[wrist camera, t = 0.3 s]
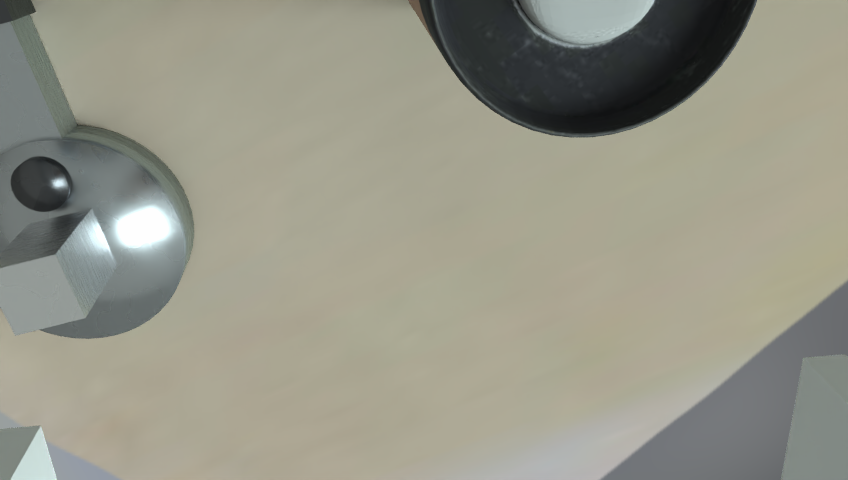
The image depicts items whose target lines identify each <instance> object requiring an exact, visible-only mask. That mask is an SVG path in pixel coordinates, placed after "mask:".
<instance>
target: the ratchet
mask: <svg viewBox="0 0 848 480" xmlns="http://www.w3.org/2000/svg"><path fill="white" fill-rule="evenodd" d="M34 12H36V11H35V9H34V6H33V4H32V2H31V0H0V308H1V309H2V311H3V313H4V315H5V317H6V319H7V321H8V323H9V324H10V326H11V328H12V330H13V332H14V334H15V336H16V335H20V334H24V333H28V332H32V331H36V330H41V331H44V332H47V333H50V334H54V335H58V336H64V337H71V338H86V339H90V338H103V337H108V336H113V335H117V334H121V333H124V332H127V331H129V330H132V329H134V328H136V327H138V326H140V325H142V324H143V323H145V322H147V321H148V320H150V319H151V318H152V317H154V316H155V315H156V314H157V313H158V312H160V311H161V309H162V308H163V307H164V306H165V305H166V304H167V303H168V301H169V300H170V298H171V297H172V295H173V294H174V292H175V290H176V288H177V286H178V284H179V282H180V279H181V277H182V275H183V272H184V270H185V268H186V265H187V263H188V261H189V258H190V254H191V251H192V247H193V240H194V222H193V216H192V211H191V208H190V204H189V201H188V198H187V196H186V194H185V192H184V190H183V188H182V186H181V185H180V183H179V181H178V180H177V178H176V177H175V175H174V174H173V173H172V172H171V170H170V169H169V168H168V167H167V166H166V165H165V164H164V163H163V162H162V161H161V160H160V159H159V158H158V157H157V156H156V155H155V154H153V153H152V152H151V151H149V150H148V149H147V148H145V147H144V146H142V145H141V144H139V143H137V142H135V141H134V140H132V139H130V138H128V137H125V136H123V135H121V134H119V133H115V132H112V131H109V130H106V129H102V128H97V127H91V126H80V125H77V123H76V121H75V118H74V116H73V114H72V111H71V109H70V107H69V104H68V102H67V100H66V98H65V95H64V93H63V91H62V88H61V86H60V84H59V81H58V79H57V77H56V74H55V72H54V70H53V67H52V65H51V63H50V60H49V58H48V56H47V53H46V51H45V49H44V46H43V44H42V42H41V39H40V37H39V35H38V33H37V30H36V28H35V26H34V23H33V21H32V19H31V16H30V14H32V13H34Z"/></svg>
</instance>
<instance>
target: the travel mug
mask: <svg viewBox="0 0 848 480" xmlns="http://www.w3.org/2000/svg"><path fill="white" fill-rule="evenodd" d="M408 1H409V3H410V4H411V6H412V7H413V9H414V11H415V12H416V14H417V15H418V17H419V19H420V20H421V22H422V23H423V25H424V27H425V28H426V30H427V31H428V33H429V35H430V36H431V38H432V39H433V41H434V42H435V44H436V46H437V47H438V49H439V50H440V52H441V54H442V55H443V57H444V58H445V60H446V62H447V63H448V65H449V66H450V68H451V69H452V70H453V72H454V73H455V74H456V76H457V77H458V78H459V80H460V81H461V82H462V83H463V84H464V86H465V87H466V88H467V89H468V90H469V91H470V92H471V93H472V94H473V95H474V96H475V97H476V98H477V99H478V100H480V101H481V102H482V103H484V104H485V105H486V106H487V107H489V108H490V109H491V110H493V111H494V112H495V113H497V114H499V115H501V116H502V117H504V118H506V119H508V120H509V121H511V122H513V123H516V124H518V125H521V126H523V127H526V128H528V129H530V130H533V131H537V132H541V133H545V134H549V135H555V136H563V137H597V136H604V135H611V134H615V133H619V132H623V131H626V130H630V129H633V128H636V127H638V126H641V125H643V124H646V123H648V122H651V121H653V120H655V119H657V118H658V117H660V116H662V115H664V114H666V113H667V112H669V111H671V110H673V109H674V108H676V107H677V106H678V105H680V104H681V103H683V102H684V101H685V100H687V99H688V98H690V97H691V96H692V95H693V94H694V93H695V92H696V91H698V90H699V89H700V88H701V87H702V86H703V85H704V84H705V83H707V81H708V80H709V79H710V78H711V77H712V76H713V75H714V74H715V72H716V71H717V70H718V69H719V68H720V67H721V66H722V64H723V63H724V62H725V60H726V59H727V57H728V56H729V55H730V53H731V52H732V50H733V49H734V48H735V46H736V44H737V42H738V41H739V39H740V37H741V35H742V33H743V32H744V30H745V28H746V26H747V24H748V22H749V19H750V17H751V14H752V12H753V10H754V7H755V5H756V2H757V0H408Z"/></svg>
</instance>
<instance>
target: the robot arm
mask: <svg viewBox="0 0 848 480" xmlns="http://www.w3.org/2000/svg"><path fill="white" fill-rule="evenodd" d="M0 480H57V478H56V475H55V471H54V468H53V465H52V461H51V458H50V455H49V451H48V448H47V444H46V441H45V438H44V434H43V431H42V428H41V426H30V427H19V428H8V429H0ZM781 480H848V357H847V356H846V355H845V354H842V355H833V356H832V355H831V356H820V357H808V358H803V362H802V368H801V374H800V379H799V385H798V390H797V395H796V401H795V406H794V412H793V417H792V423H791V428H790V434H789V439H788V445H787V450H786V456H785V462H784V467H783V473H782V478H781Z"/></svg>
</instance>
